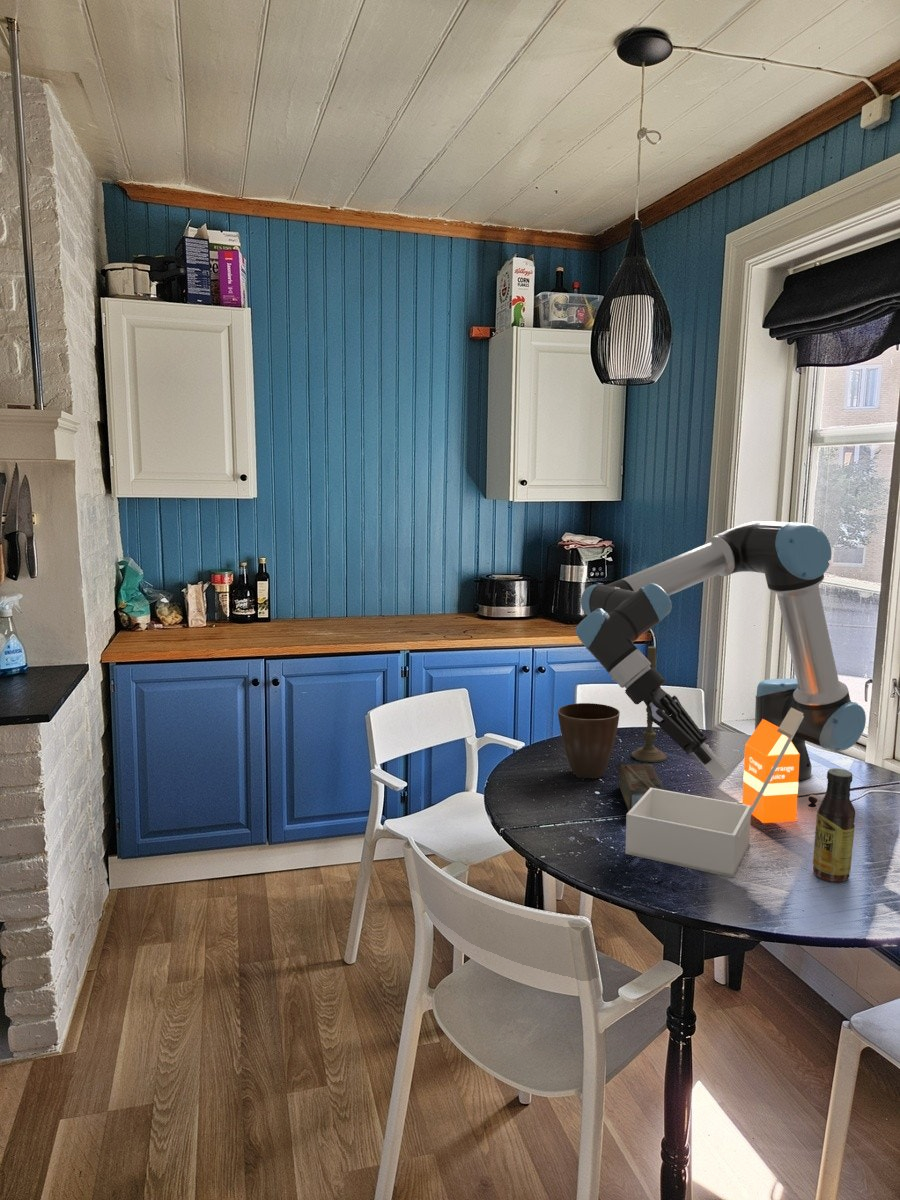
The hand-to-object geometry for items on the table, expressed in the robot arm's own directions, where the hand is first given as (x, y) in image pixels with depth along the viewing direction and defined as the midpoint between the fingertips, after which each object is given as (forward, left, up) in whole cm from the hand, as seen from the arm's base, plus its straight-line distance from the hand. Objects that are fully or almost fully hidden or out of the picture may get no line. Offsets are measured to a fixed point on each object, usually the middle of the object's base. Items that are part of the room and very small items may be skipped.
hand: (721, 774), depth 154 cm
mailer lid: (-5, +4, +3) cm, 7 cm away
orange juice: (-21, -17, -17) cm, 32 cm away
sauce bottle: (-16, +11, -17) cm, 26 cm away
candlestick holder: (-11, -57, -17) cm, 60 cm away
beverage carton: (+4, -28, -17) cm, 33 cm away
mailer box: (+4, -4, -16) cm, 17 cm away
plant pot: (+9, -48, -17) cm, 52 cm away
